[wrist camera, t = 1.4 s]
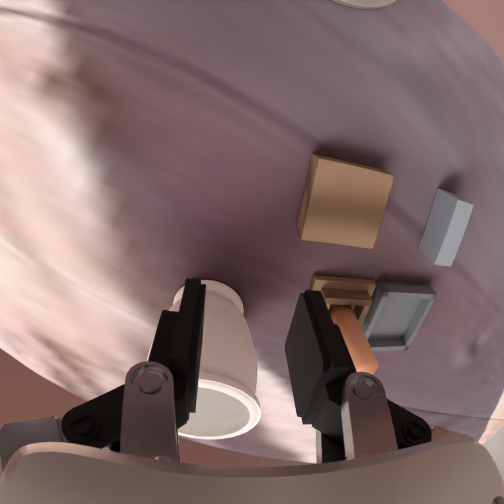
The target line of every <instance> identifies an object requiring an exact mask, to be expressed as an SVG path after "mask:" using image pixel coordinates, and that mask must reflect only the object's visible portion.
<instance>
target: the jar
mask: <svg viewBox="0 0 504 504" xmlns="http://www.w3.org/2000/svg"><path fill="white" fill-rule="evenodd" d="M201 284H206V296H205V310H204V326H203V341H202V351H201V360H200V370H199V380H198V390H197V401H196V412H195V413H190V415H189V421H188V420H187V424H185V425H183V426H182V427H180V428H179V429H178V435H181V436H185V437H190V438H197V439H223V438H229V437H234V436H237V435H240V434H243V433H245V432H247V431H249V430H250V429H252V428H253V427H254V426H255V425H256V424H257V423H258V421H259V419H260V416H261V411H260V404H259V401H258V399H257V397H256V396H255V391H256V383H257V360H256V353H255V349H254V345H253V341H252V338H251V335H250V332H249V328H248V325H247V322H246V320H245V318H244V316H243V313H244V308H243V303H242V301H241V299H240V297H239V296H238V294H237V293H236V292H235V291H234V290H233V289H231V288H230V287H229V286H227V285H225V284H223V283H220V282H217V281H213V280H201ZM184 287H185V285H184V286H183V287H182V288H181V289H180V290H179V291H178V292H177V293H176V295H175V298H174V301H173V306H172V307H171V308H170V309H169V311H176V312H178V311H179V307H180V303H181V299H182V295H183V291H184ZM155 334H156V333H155ZM154 337H155V336H154ZM153 340H154V338H153ZM153 340H152V343H151V346H150V349H149V354H148V358H149V355H150V351H151V348H152V344H153ZM147 361H148V359H147Z"/></svg>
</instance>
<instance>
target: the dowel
mask: <svg viewBox="0 0 504 504" xmlns="http://www.w3.org/2000/svg"><path fill="white" fill-rule="evenodd" d="M329 313H330V315H331V318H332V320H333V323H334V324H337V325H338V326H339V328H340V330H341V333H342V335H343V338H344V340H345V343H346V345H347V348H348V350H349V353H350V355H351V358H352V360H353V363H354V365H355V368H356V371H357V372H367V373H370V374H374V373H375V371H376V370H377V368H378V362H377V360H376V358H375V356H374V354H373V351H372V349H371V347H370V345H369V343H368V341H367V339H366V337H365V335H364V332H363V330H362V328H361V326H360V324H359V322H358V320H357V318H356V316H355V314H354V312H353V310H352V308H351V306H350V305H338V304H330V307H329Z"/></svg>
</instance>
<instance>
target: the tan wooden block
mask: <svg viewBox="0 0 504 504" xmlns="http://www.w3.org/2000/svg"><path fill="white" fill-rule="evenodd" d="M393 178H394V176H393V175H392V174H390V173H388V172H386V171H384V170H381V169H378V168H374V167H370V166H366V165H361V164H357V163H353V162H348V161H344V160H339V159H335V158H330V157H325V156H320V155H315V154H312V155H311V160H310V165H309V170H308V175H307V180H306V185H305V190H304V195H303V200H302V204H301V209H300V214H299V218H298V223H297V227H296V230H297V232H298V234H299V236H300V238H301V240H309V241H317V242H325V243H333V244H341V245H348V246H356V247H364V248H371V249H373V246H374V243H375V240H376V237H377V234H378V231H379V227H380V224H381V221H382V218H383V214H384V211H385V207H386V204H387V200H388V197H389V193H390V190H391V186H392V182H393Z"/></svg>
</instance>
